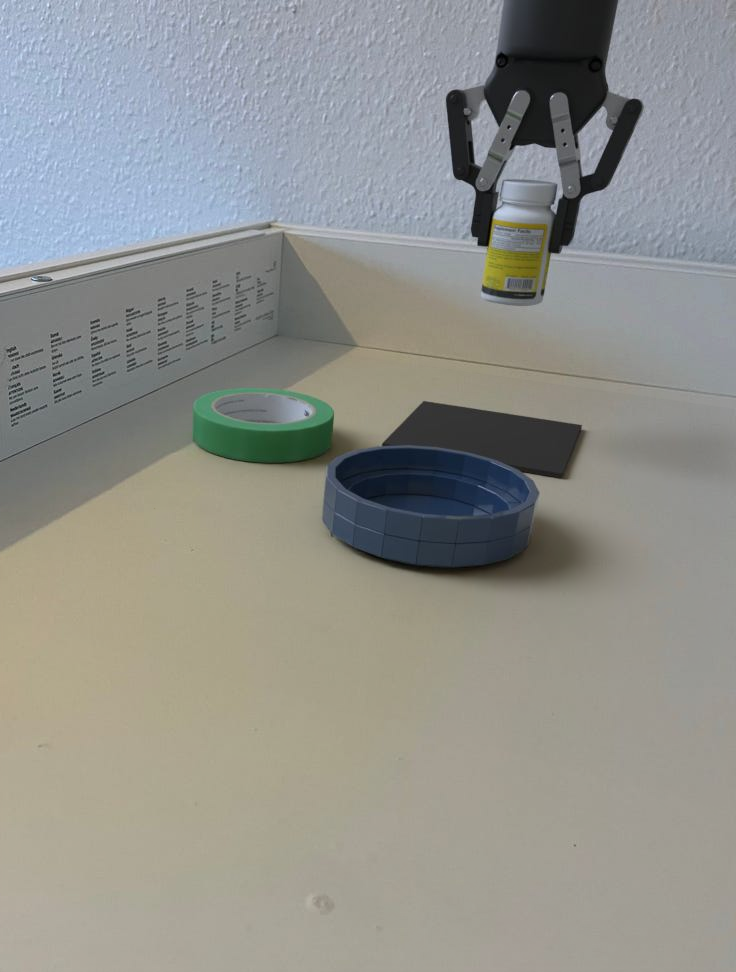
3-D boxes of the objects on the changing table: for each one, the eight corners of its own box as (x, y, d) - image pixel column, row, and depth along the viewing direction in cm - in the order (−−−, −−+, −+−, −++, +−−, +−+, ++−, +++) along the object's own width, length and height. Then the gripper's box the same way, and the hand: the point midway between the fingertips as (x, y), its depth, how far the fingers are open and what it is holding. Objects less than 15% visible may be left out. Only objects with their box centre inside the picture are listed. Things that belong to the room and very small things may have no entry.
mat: (581, 429, 85) (582, 424, 85) (561, 478, 74) (563, 473, 74) (422, 405, 90) (423, 400, 89) (381, 448, 78) (382, 443, 78)
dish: (541, 515, 67) (551, 465, 65) (509, 592, 56) (520, 535, 55) (355, 481, 71) (360, 434, 69) (293, 547, 60) (297, 493, 59)
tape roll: (322, 469, 73) (325, 434, 72) (177, 454, 74) (177, 419, 73) (338, 426, 82) (341, 395, 81) (209, 413, 84) (210, 382, 83)
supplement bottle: (505, 293, 79) (524, 178, 75) (554, 303, 76) (577, 184, 72) (467, 297, 77) (484, 178, 72) (516, 309, 73) (537, 185, 69)
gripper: (678, -14, 67) (620, 253, 75) (469, -18, 71) (436, 234, 80) (675, -26, 61) (613, 265, 69) (447, -30, 65) (414, 245, 74)
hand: (519, 247), depth 74 cm, fingers closed on supplement bottle, 4 cm apart
